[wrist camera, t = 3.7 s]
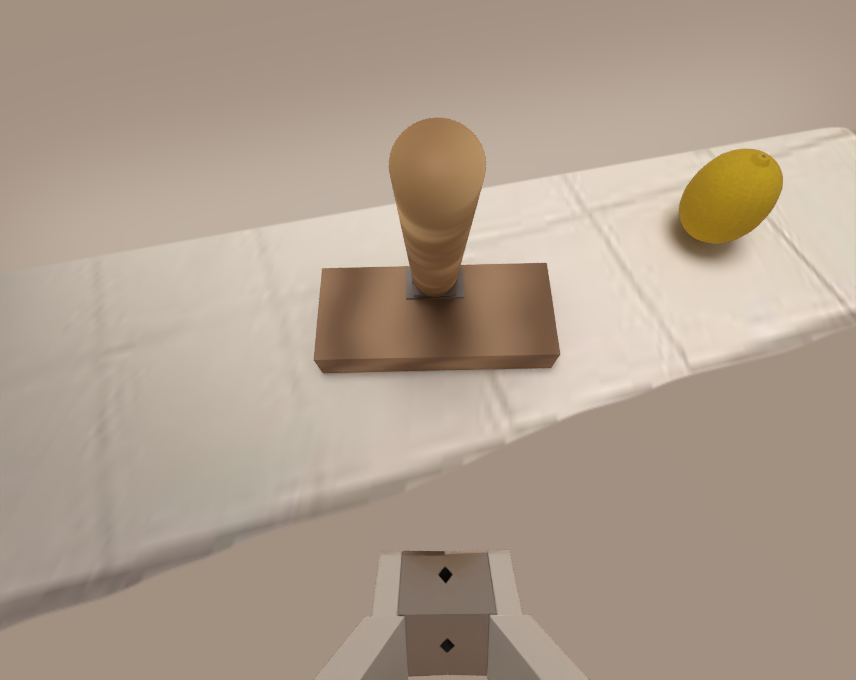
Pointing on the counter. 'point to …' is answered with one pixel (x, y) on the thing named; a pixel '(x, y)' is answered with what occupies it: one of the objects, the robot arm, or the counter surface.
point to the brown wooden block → (436, 320)
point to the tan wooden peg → (436, 199)
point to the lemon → (730, 196)
